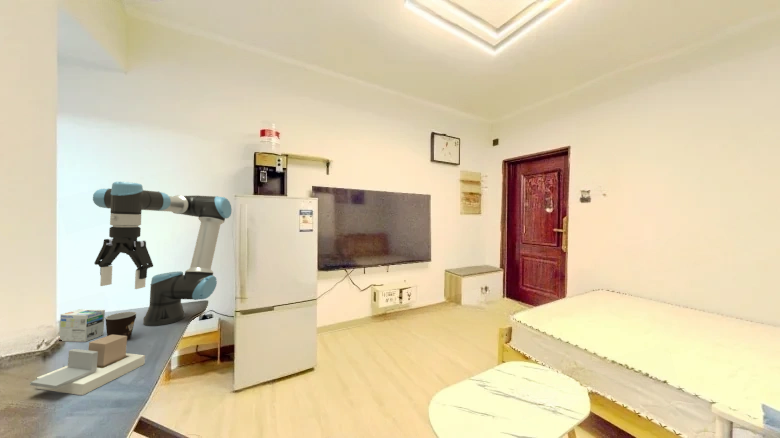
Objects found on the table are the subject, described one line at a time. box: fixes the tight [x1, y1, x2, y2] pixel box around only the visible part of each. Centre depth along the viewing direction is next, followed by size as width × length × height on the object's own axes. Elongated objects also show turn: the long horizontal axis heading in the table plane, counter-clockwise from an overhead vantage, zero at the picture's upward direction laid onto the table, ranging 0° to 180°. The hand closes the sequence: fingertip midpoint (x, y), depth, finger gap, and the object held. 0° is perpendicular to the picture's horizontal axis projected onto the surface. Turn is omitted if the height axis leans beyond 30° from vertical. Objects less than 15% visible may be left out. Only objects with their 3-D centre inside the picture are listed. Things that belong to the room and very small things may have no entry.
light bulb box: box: [58, 308, 106, 343], centre depth 102 cm, size 11×7×11 cm, turn 92°
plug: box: [87, 334, 128, 368], centre depth 82 cm, size 6×6×10 cm
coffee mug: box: [104, 311, 137, 342], centre depth 103 cm, size 12×9×10 cm
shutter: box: [29, 348, 98, 389], centre depth 72 cm, size 8×8×6 cm
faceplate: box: [34, 352, 146, 396], centre depth 79 cm, size 16×16×3 cm
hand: (122, 286), depth 88 cm, fingers open, 13 cm apart
